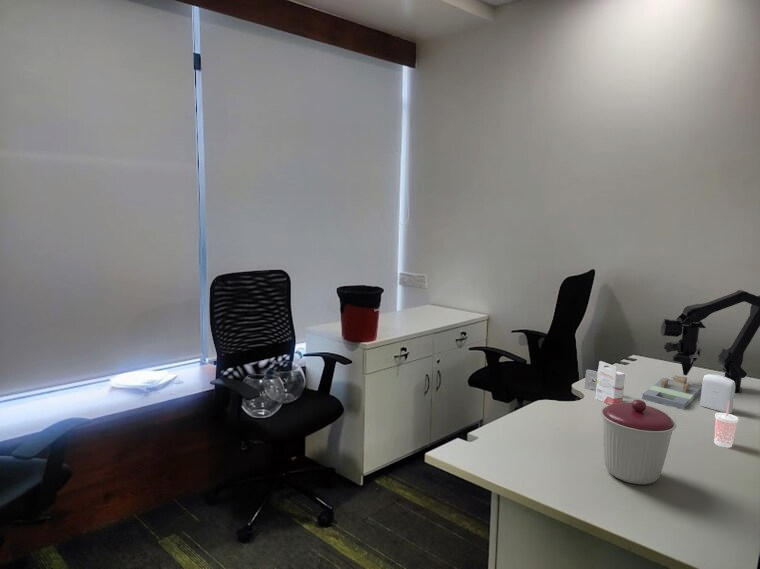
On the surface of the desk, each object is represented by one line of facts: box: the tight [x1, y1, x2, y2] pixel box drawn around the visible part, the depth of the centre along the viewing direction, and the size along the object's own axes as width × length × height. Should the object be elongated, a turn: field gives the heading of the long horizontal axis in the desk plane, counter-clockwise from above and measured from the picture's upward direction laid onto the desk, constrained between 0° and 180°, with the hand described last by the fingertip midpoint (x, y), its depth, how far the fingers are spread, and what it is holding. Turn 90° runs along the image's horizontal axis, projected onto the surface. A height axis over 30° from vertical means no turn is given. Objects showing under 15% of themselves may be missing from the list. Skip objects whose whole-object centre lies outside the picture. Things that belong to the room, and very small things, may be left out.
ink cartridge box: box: [594, 360, 626, 405], centre depth 195 cm, size 9×5×15 cm, turn 25°
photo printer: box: [699, 374, 736, 414], centre depth 191 cm, size 10×4×12 cm, turn 39°
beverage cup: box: [713, 401, 740, 449], centre depth 163 cm, size 6×6×14 cm
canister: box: [600, 399, 677, 485], centre depth 142 cm, size 18×18×21 cm
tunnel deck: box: [641, 377, 702, 411], centre depth 204 cm, size 26×14×4 cm, turn 137°
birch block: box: [672, 374, 688, 387], centre depth 210 cm, size 4×4×3 cm
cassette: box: [584, 369, 598, 392], centre depth 206 cm, size 12×2×8 cm, turn 51°
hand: (685, 375), depth 216 cm, fingers closed
